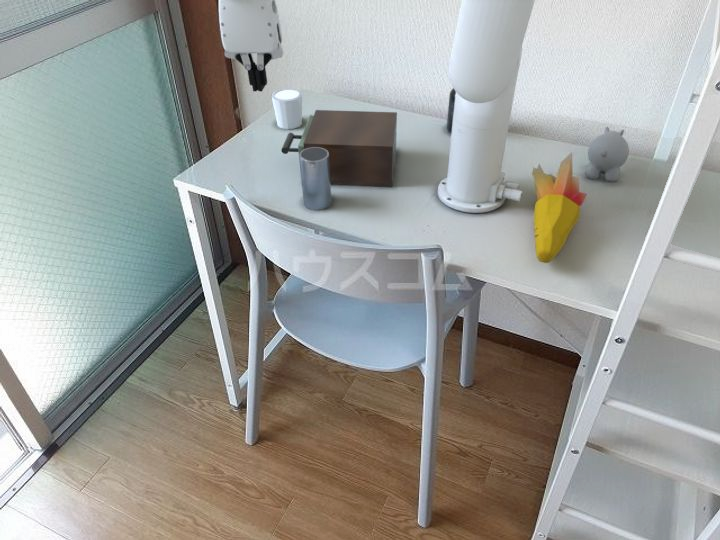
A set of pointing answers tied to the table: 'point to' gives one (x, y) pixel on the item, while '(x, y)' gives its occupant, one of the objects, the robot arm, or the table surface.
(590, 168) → the toy rhinoceros
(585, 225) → the table surface
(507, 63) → the robot arm
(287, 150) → the drawer
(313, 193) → the measuring cup
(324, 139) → the cabinet
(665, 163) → the table surface
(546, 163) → the table surface
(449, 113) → the supplement bottle
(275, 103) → the white cylinder
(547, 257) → the torch
